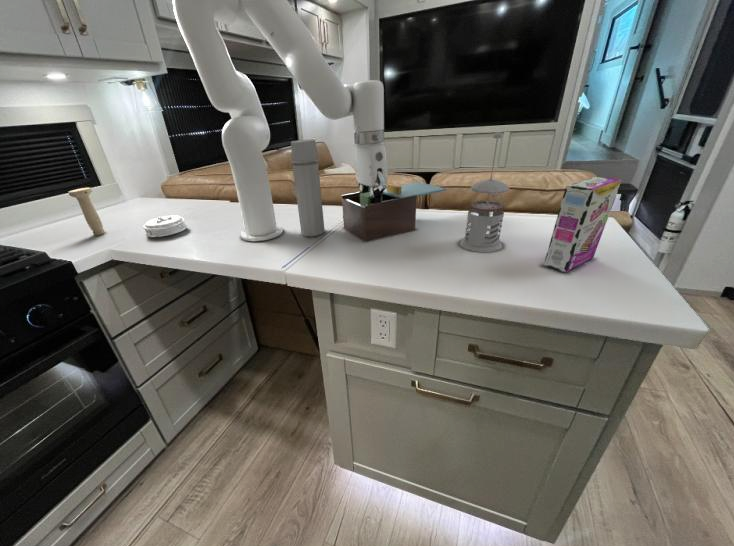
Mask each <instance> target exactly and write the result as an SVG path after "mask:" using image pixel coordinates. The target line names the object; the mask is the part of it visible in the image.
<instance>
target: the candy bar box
mask: <svg viewBox="0 0 734 546" xmlns="http://www.w3.org/2000/svg"><path fill="white" fill-rule="evenodd" d="M622 181H623V180H622V179H619V178H609V177H601V176H594V177H590V178H588V179H585V180H584V179H583V180H582V181H577V182H575V183H572V184H568V185H565V188H564V192H563V195H562V198H561V203H560V206H559V210H558V212H557V217H556V220H555V222H554V224H555V225H554V227H553V230H552V234H551V238H550V241H549V245H548V248H547V251H546V254H545V258H544V261H543V264H542V265H543V267H546V268H549V269H553V270H556V271H558V272H562V273H568V272H570V271H572V270H574V269H576V268H577V267H579V266H581V265H583V264H585V263H587V262H589V261H591V260H592V259H594V257H595V254H596V252H597V249H598V246H599V243H600V241H601V238H602V235H603V232H604V230H605V227H606V224H607V221H608V219H609V216H610V214H611V211H612V209H613V206H614V203H615V201H616V197H617V195H618V192H619V189H620V187H621V184H622Z"/></svg>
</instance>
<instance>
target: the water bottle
mask: <svg viewBox="0 0 734 546" xmlns="http://www.w3.org/2000/svg"><path fill="white" fill-rule="evenodd" d="M290 150H291V151H290V152H291V160H290V163H291V164H292V173H293V181H294V189H295V194H296V195H295V196H296V203H297V204H296V205H297V210H298V211H297V212H298V218H299V226H300V233H301V234H302V236H304V237H310V238H311V237H318V236H321V235H323V234H324V233H325V231H326V230H325V221H324V210H323V199H322V198H323V197H322V189H321V179H320V168H319V167H320V166H319V162H318V161H321V159H319V153H318V148H317V142H316V139H312V138H311V139H300V140H299V139H298V140H292V141H290Z"/></svg>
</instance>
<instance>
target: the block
mask: <svg viewBox="0 0 734 546" xmlns="http://www.w3.org/2000/svg"><path fill="white" fill-rule="evenodd" d="M370 198H372V197H371V192H367V193H362V194H360V205H362V206H364V207H365V205H368V204H370ZM381 202H382V197H381Z"/></svg>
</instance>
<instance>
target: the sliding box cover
mask: <svg viewBox="0 0 734 546" xmlns="http://www.w3.org/2000/svg"><path fill="white" fill-rule="evenodd" d="M386 187H387V188H386V189H385V190H384V191H383V193H382V194H385V195H388V196H391V197H394V198H397V199H398V198H403V197H408V196H413V195H417V198H418V197H422V196H426V195H431V194H432V195H433V194H437V193H442V192H446V191H447V188H446V187H442V186H436V185H432V184H429V183H425V182H420V181H417V182H412V183H405V184H401V185H396V184H394V183H387V184H386Z"/></svg>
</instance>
